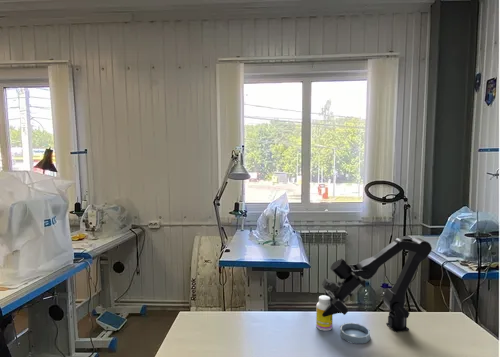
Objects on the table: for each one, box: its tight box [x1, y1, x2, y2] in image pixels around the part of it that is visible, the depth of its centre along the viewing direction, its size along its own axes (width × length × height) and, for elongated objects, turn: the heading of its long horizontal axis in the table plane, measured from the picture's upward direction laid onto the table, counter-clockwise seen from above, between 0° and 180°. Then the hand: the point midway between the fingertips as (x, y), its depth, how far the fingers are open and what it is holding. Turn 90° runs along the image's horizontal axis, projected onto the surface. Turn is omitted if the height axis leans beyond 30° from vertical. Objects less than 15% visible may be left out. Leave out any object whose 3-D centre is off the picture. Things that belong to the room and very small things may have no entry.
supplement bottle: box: [315, 294, 333, 332], centre depth 137 cm, size 7×7×13 cm
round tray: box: [339, 322, 371, 345], centre depth 131 cm, size 11×11×2 cm
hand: (321, 311), depth 137 cm, fingers closed on supplement bottle, 7 cm apart
